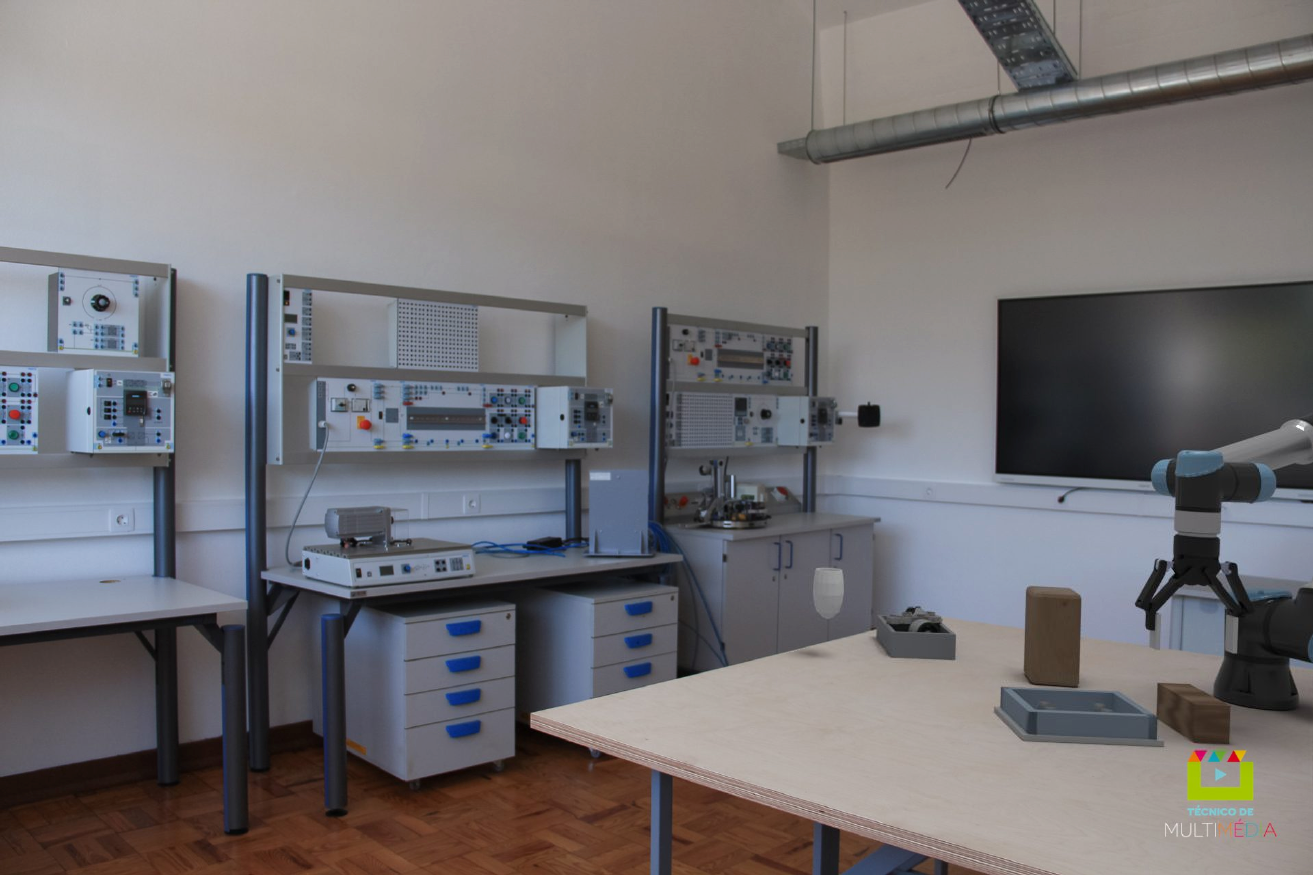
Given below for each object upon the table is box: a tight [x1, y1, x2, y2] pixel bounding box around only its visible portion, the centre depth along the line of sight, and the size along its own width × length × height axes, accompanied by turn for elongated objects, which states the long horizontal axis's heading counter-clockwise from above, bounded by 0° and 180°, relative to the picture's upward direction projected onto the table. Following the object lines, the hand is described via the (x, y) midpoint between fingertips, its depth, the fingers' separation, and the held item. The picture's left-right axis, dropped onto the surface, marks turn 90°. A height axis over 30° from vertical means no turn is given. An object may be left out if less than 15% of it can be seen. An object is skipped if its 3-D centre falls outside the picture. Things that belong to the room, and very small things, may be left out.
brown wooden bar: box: [1156, 682, 1231, 745], centre depth 181 cm, size 15×6×7 cm, turn 176°
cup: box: [812, 567, 845, 620], centre depth 234 cm, size 7×7×21 cm
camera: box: [887, 605, 944, 633], centre depth 245 cm, size 16×9×10 cm, turn 106°
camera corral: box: [875, 614, 957, 661], centre depth 245 cm, size 15×22×6 cm
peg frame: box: [993, 686, 1165, 747], centre depth 181 cm, size 24×18×5 cm
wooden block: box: [1023, 585, 1082, 688], centre depth 216 cm, size 10×10×20 cm
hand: (1192, 650), depth 181 cm, fingers open, 13 cm apart
